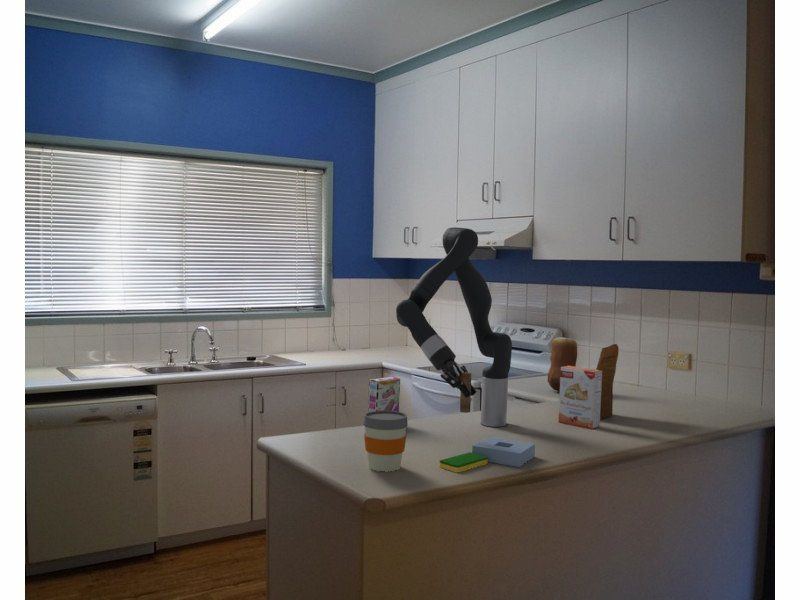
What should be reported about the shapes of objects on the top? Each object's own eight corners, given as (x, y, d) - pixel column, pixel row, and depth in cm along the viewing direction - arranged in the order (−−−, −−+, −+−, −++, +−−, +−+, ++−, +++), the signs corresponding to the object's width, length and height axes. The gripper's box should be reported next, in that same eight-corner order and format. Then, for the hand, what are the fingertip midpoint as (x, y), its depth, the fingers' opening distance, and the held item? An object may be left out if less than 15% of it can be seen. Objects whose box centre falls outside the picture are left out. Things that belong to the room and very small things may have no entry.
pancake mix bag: (621, 415, 284) (624, 344, 283) (599, 422, 270) (602, 347, 268) (605, 412, 289) (608, 342, 287) (582, 419, 275) (585, 345, 273)
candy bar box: (376, 428, 253) (377, 381, 251) (366, 425, 256) (368, 379, 255) (399, 423, 260) (400, 378, 259) (389, 421, 264) (391, 376, 263)
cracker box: (557, 422, 268) (559, 366, 267) (565, 420, 273) (568, 365, 271) (592, 429, 259) (594, 371, 258) (600, 427, 263) (602, 369, 262)
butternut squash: (578, 390, 334) (580, 336, 333) (578, 396, 321) (580, 339, 320) (547, 388, 337) (549, 335, 336) (546, 393, 324) (548, 338, 323)
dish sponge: (438, 468, 208) (438, 460, 208) (469, 459, 218) (469, 451, 218) (457, 474, 203) (457, 465, 203) (488, 465, 213) (488, 457, 213)
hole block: (488, 449, 229) (489, 436, 229) (534, 456, 222) (535, 443, 221) (471, 458, 218) (472, 445, 218) (519, 467, 210) (519, 453, 210)
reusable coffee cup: (370, 459, 215) (372, 408, 214) (411, 463, 211) (413, 412, 210) (356, 470, 203) (357, 417, 202) (399, 476, 199) (400, 421, 198)
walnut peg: (462, 409, 228) (463, 372, 228) (472, 411, 227) (473, 373, 226) (458, 411, 226) (459, 373, 225) (467, 413, 224) (468, 374, 223)
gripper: (435, 346, 223) (470, 391, 217) (455, 342, 235) (489, 384, 229) (419, 362, 226) (453, 406, 220) (440, 357, 238) (473, 398, 232)
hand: (471, 394), depth 225 cm, fingers closed on walnut peg, 3 cm apart
